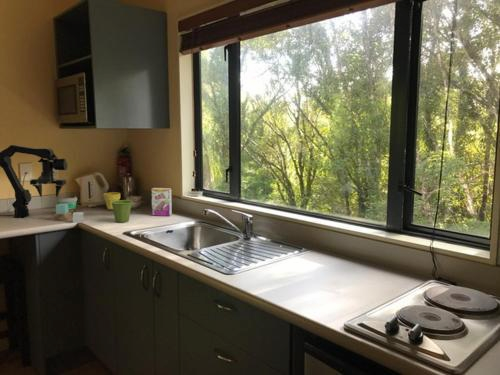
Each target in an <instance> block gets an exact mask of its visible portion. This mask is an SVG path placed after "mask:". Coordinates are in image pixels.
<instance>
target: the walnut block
mask: <svg viewBox="0 0 500 375" xmlns="http://www.w3.org/2000/svg"><path fill="white" fill-rule="evenodd" d="M71 218H72V219H73V214H71V212H68V213H66V214H56V212H55V213H53V214H52V219H53V220H54V221H53V220H52V221H53V222H66V220H67V221H69V220H71Z"/></svg>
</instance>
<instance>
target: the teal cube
mask: <svg viewBox="0 0 500 375" xmlns="http://www.w3.org/2000/svg"><path fill="white" fill-rule="evenodd" d="M55 213H56V214H66V213H68V204H58V203H57V204H56V205H55Z"/></svg>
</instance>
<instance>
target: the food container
mask: <svg viewBox="0 0 500 375" xmlns="http://www.w3.org/2000/svg"><path fill="white" fill-rule="evenodd" d="M77 201H78V197H77V196H76V195H75V196H74V197H66V198H57V200H56V202H57V204H68V212H71V214H72V215H73V213H75V212H77Z"/></svg>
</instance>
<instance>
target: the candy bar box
mask: <svg viewBox="0 0 500 375" xmlns="http://www.w3.org/2000/svg"><path fill="white" fill-rule="evenodd" d="M150 192H151V193H150V194H151V197H150V198H151V216H152V217H154V216H155V217H171V216H172V215H173V214H172V212H173V211H172V208H173V206H172V204H173V203H172V198H173V197H172V188H171V187H169V188H167V187H166V188H165V187H152V188H151V191H150Z"/></svg>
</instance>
